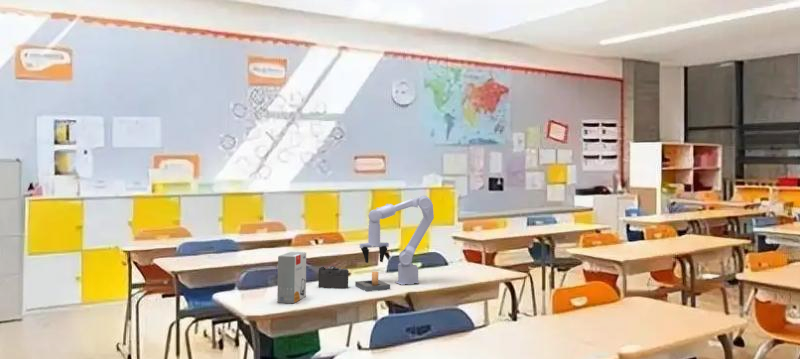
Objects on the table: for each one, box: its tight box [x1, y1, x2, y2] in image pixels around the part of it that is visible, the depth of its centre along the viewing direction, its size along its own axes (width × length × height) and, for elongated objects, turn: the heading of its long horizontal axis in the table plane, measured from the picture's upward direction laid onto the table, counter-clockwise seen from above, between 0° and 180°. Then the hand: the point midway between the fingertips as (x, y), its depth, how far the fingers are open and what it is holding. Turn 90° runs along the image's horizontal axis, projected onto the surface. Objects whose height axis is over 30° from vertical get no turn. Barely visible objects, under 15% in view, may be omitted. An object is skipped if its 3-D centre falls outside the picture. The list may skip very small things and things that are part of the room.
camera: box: [317, 265, 350, 290], centre depth 327 cm, size 14×11×10 cm
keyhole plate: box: [354, 279, 391, 292], centre depth 324 cm, size 12×14×2 cm
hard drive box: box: [276, 251, 307, 304], centre depth 296 cm, size 16×8×20 cm, turn 168°
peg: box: [371, 271, 379, 286], centre depth 321 cm, size 3×3×8 cm
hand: (374, 262), depth 335 cm, fingers open, 7 cm apart
